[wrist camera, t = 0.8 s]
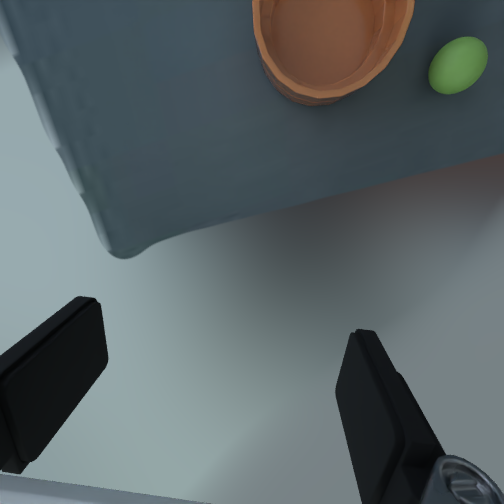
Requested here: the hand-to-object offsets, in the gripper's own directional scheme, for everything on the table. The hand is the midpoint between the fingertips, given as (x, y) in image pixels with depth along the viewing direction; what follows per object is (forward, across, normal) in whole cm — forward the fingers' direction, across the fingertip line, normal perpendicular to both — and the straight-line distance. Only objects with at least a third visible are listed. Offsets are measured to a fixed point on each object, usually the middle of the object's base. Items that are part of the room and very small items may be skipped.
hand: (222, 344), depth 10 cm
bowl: (+27, -5, -18) cm, 33 cm away
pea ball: (+24, -18, -16) cm, 34 cm away
